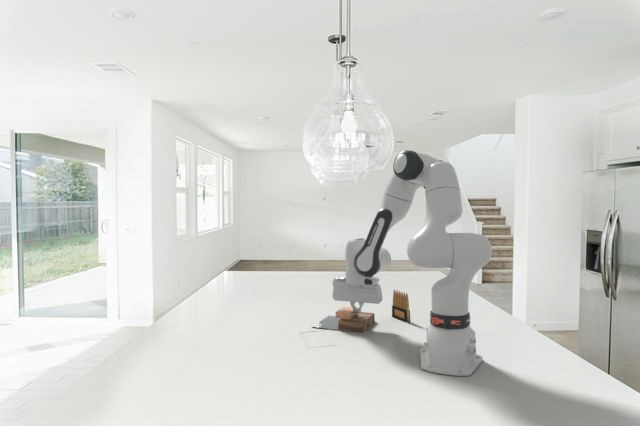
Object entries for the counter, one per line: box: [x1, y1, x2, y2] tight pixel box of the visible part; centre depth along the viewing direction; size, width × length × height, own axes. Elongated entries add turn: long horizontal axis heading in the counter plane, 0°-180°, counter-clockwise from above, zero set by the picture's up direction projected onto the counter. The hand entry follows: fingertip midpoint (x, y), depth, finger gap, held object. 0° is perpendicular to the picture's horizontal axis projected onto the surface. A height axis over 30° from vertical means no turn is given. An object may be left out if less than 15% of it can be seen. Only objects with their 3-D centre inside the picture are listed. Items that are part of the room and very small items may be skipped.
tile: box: [335, 306, 357, 319], centre depth 169 cm, size 9×6×2 cm, turn 156°
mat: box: [318, 315, 341, 331], centre depth 171 cm, size 18×11×1 cm, turn 157°
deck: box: [338, 311, 376, 333], centre depth 167 cm, size 16×10×4 cm, turn 157°
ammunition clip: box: [391, 289, 411, 324], centre depth 175 cm, size 11×2×12 cm, turn 24°
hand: (357, 312), depth 167 cm, fingers closed
